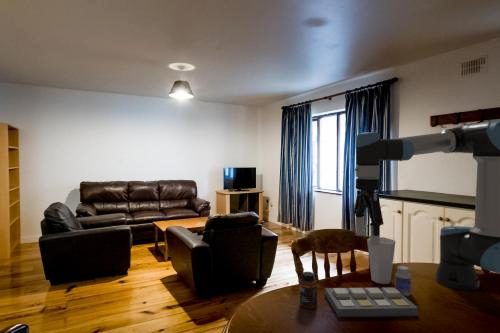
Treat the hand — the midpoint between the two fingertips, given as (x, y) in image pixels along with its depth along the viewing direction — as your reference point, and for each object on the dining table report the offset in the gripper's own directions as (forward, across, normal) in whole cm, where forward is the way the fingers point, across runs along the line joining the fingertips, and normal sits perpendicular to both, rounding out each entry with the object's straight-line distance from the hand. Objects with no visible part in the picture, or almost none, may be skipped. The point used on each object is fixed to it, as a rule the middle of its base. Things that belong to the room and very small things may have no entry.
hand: (367, 239), depth 105 cm
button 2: (+21, -4, +4) cm, 22 cm away
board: (+23, -2, +1) cm, 23 cm away
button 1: (+21, -4, +10) cm, 24 cm away
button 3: (+21, -3, -2) cm, 22 cm away
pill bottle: (+23, -11, +18) cm, 31 cm away
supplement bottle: (+23, -1, -20) cm, 31 cm away
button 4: (+21, -3, -8) cm, 23 cm away
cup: (+23, -23, +15) cm, 36 cm away
